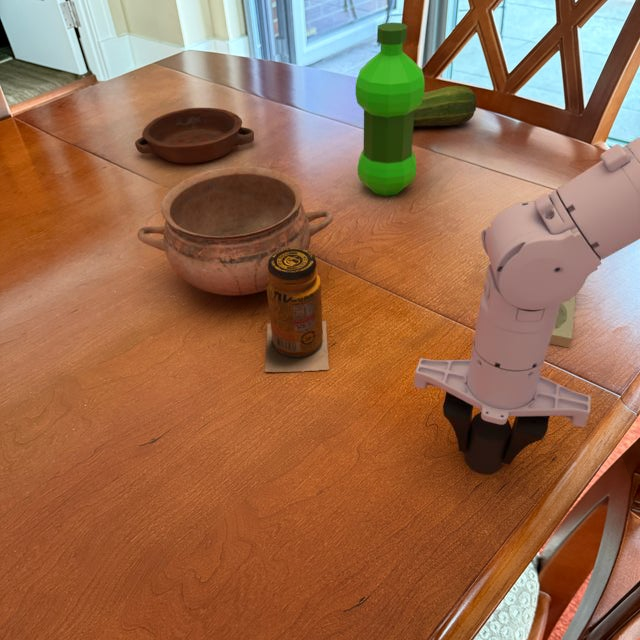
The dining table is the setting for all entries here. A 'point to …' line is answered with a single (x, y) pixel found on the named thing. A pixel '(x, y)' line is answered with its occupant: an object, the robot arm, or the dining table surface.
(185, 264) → the cooking pot
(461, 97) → the vegetable
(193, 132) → the dish
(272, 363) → the condiment
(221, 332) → the dining table surface
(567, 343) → the plate
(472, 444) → the stopper
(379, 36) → the plastic bottle
